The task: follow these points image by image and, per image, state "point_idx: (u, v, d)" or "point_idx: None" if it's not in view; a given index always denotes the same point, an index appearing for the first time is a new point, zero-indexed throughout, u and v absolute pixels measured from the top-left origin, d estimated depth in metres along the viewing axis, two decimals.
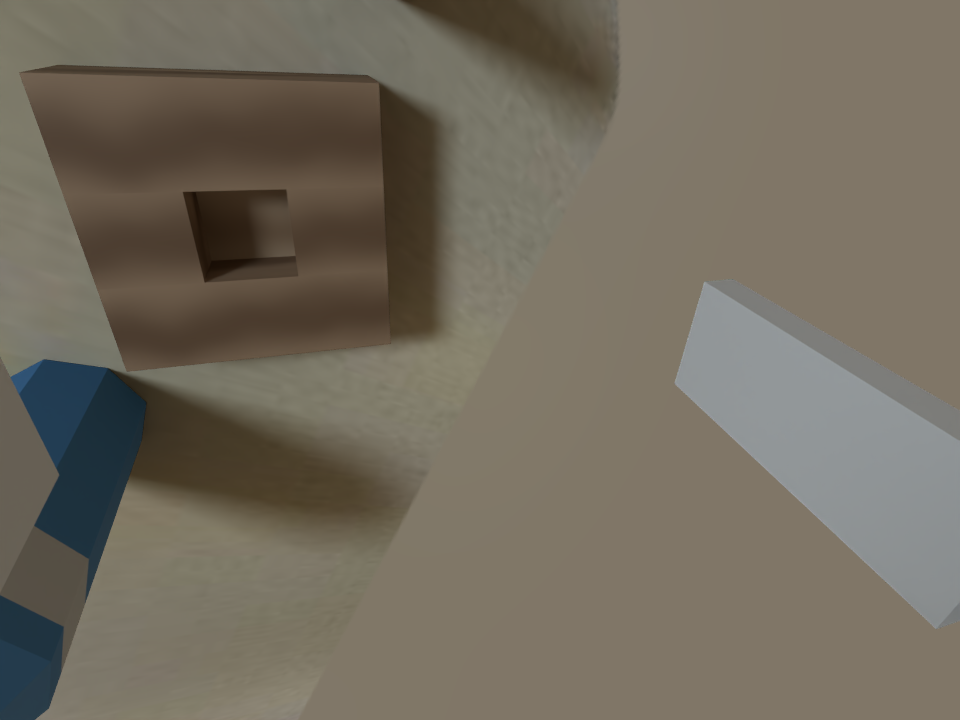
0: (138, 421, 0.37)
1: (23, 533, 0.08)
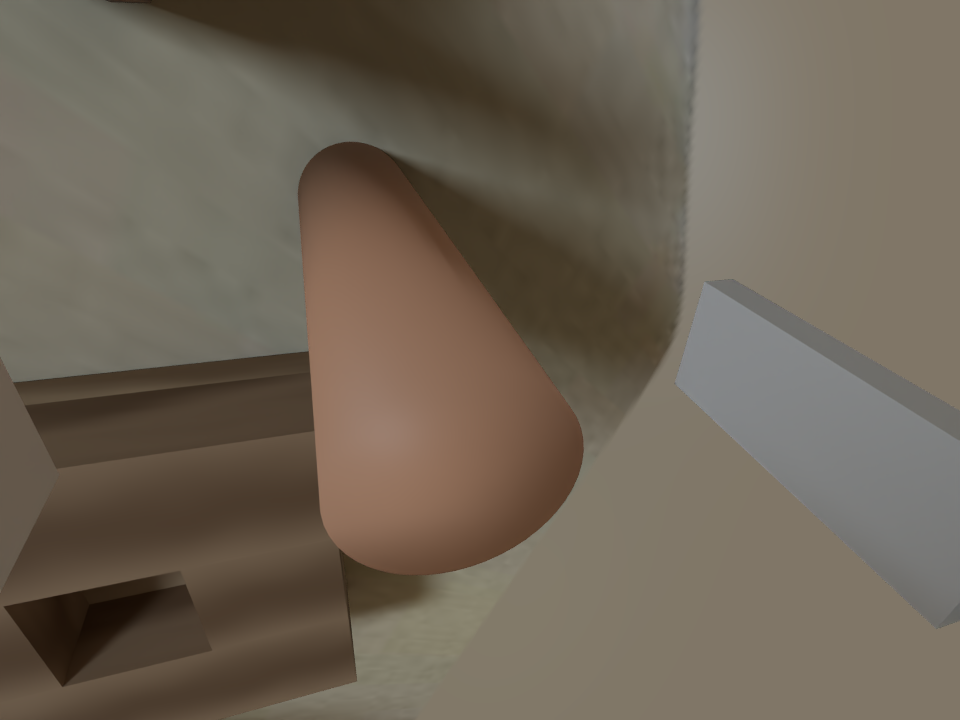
0: None
1: (23, 533, 0.08)
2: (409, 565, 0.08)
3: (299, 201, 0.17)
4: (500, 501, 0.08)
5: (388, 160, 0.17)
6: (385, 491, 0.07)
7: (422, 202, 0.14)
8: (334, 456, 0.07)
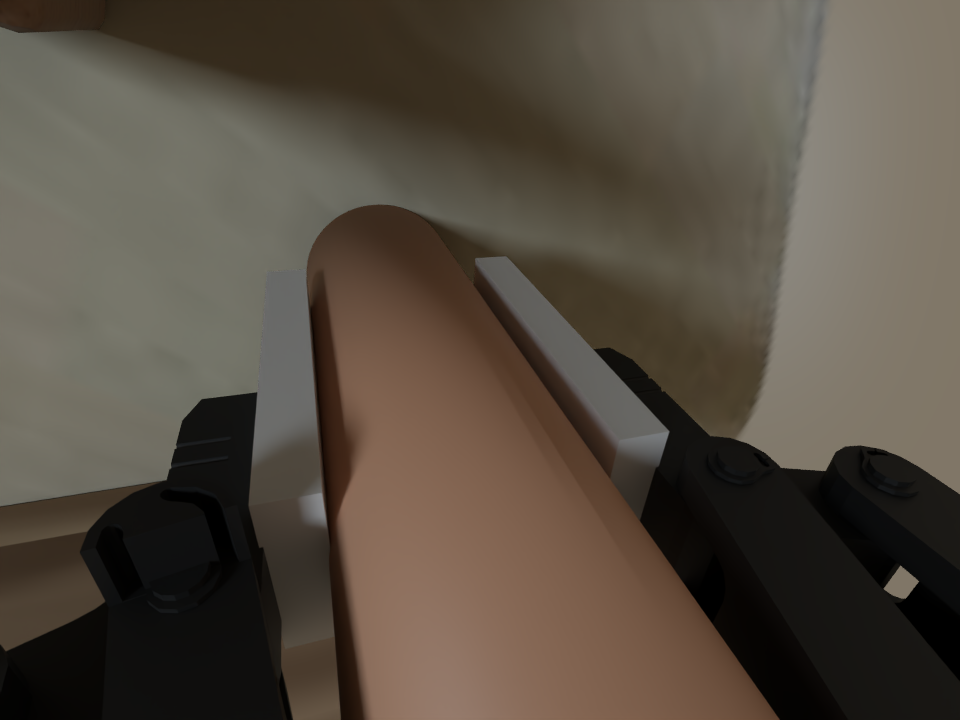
0: None
1: None
2: None
3: (309, 289, 0.12)
4: None
5: (428, 232, 0.13)
6: None
7: (488, 309, 0.10)
8: None
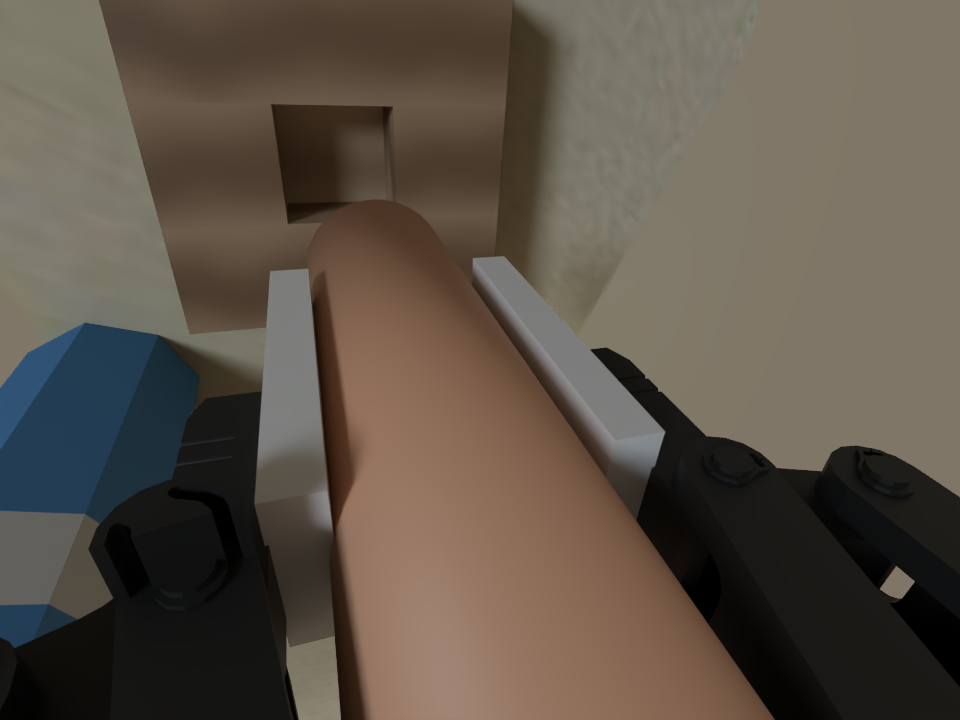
0: (193, 397, 0.31)
1: None
2: None
3: None
4: None
5: (422, 225, 0.13)
6: None
7: (477, 296, 0.10)
8: None
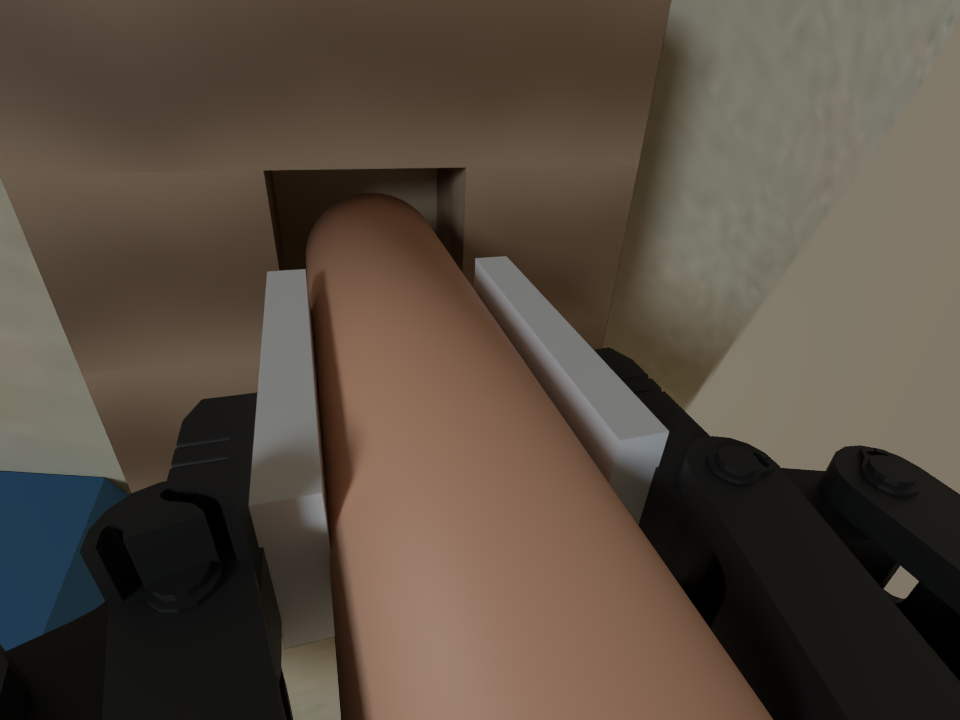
0: None
1: None
2: None
3: (308, 269, 0.13)
4: None
5: (416, 217, 0.14)
6: None
7: (467, 283, 0.11)
8: None
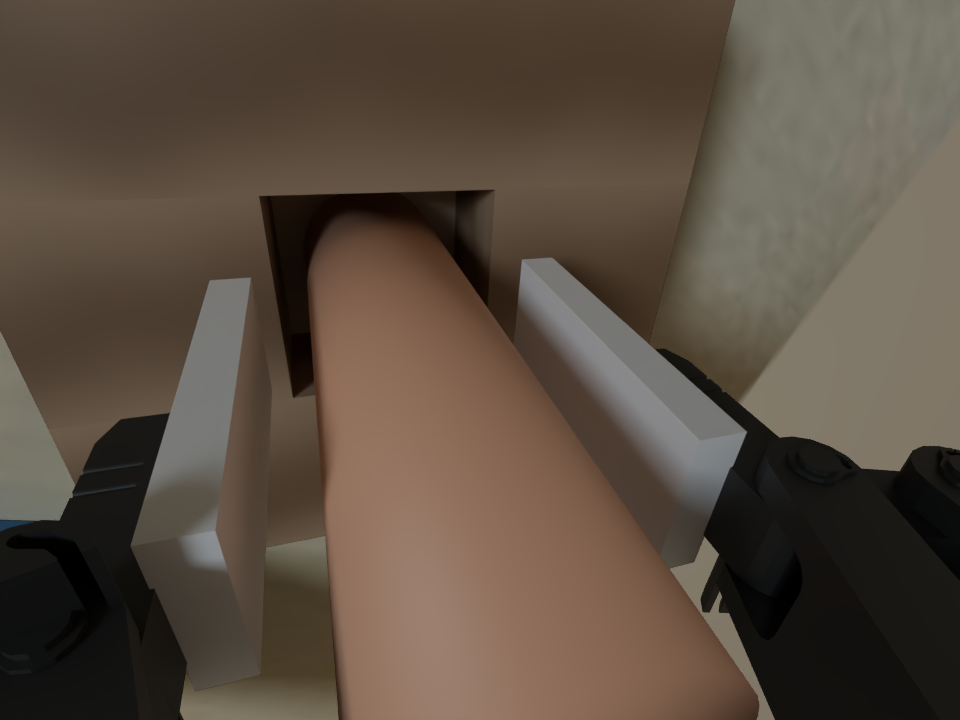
0: None
1: (269, 423, 0.11)
2: None
3: (306, 259, 0.14)
4: None
5: (411, 209, 0.14)
6: None
7: (459, 270, 0.11)
8: None
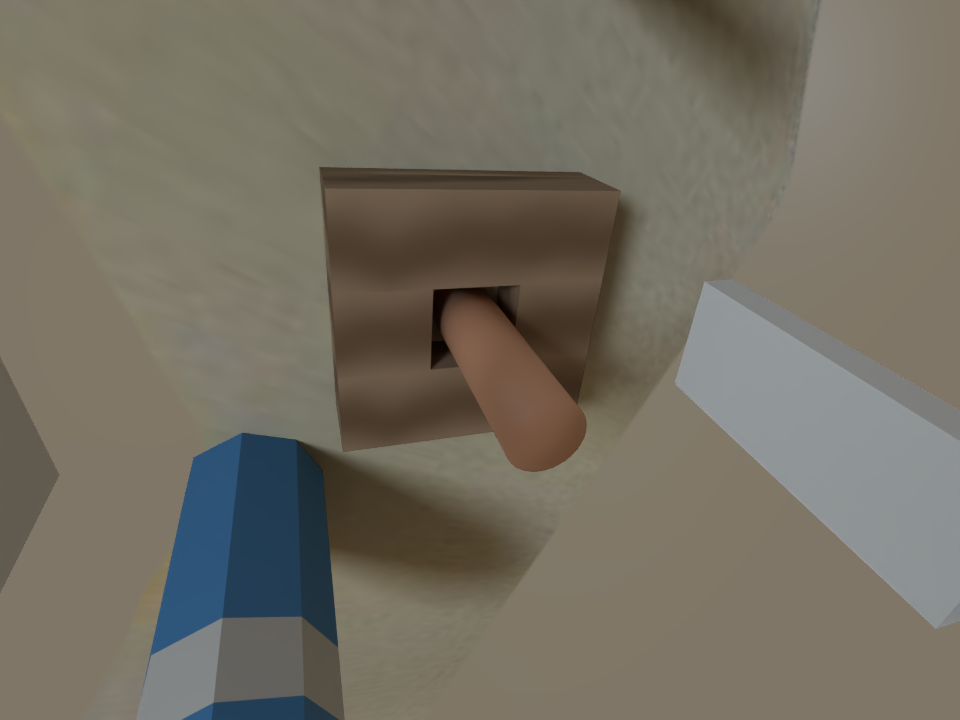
0: (323, 492, 0.38)
1: (23, 533, 0.08)
2: (526, 467, 0.23)
3: (437, 310, 0.32)
4: (558, 444, 0.23)
5: (482, 288, 0.33)
6: (524, 437, 0.22)
7: (507, 318, 0.30)
8: (513, 425, 0.22)
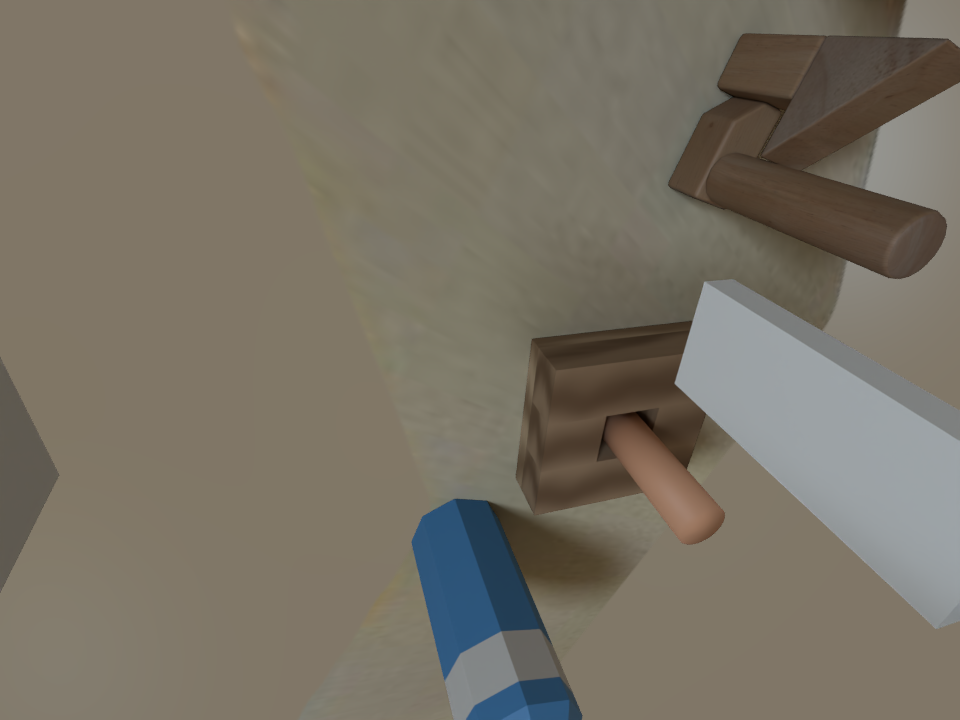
0: None
1: (23, 533, 0.08)
2: (687, 542, 0.39)
3: None
4: (707, 529, 0.39)
5: None
6: (690, 527, 0.38)
7: None
8: (685, 522, 0.38)
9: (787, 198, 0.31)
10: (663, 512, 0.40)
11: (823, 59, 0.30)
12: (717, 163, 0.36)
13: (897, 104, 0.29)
